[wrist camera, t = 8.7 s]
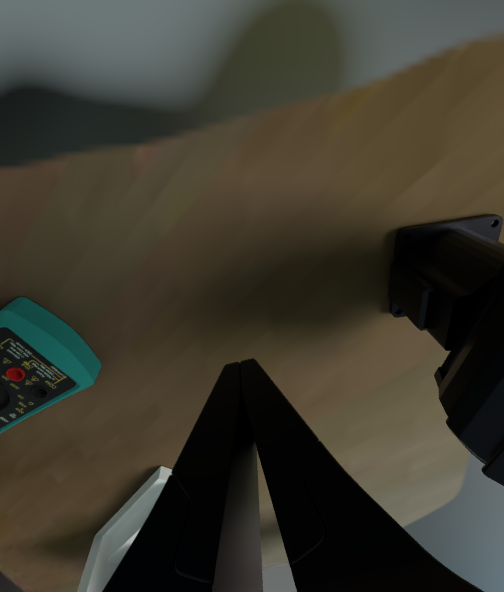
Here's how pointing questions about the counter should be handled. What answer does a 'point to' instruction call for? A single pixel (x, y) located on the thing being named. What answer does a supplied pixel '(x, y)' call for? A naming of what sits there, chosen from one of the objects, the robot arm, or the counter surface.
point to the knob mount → (120, 533)
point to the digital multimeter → (39, 361)
